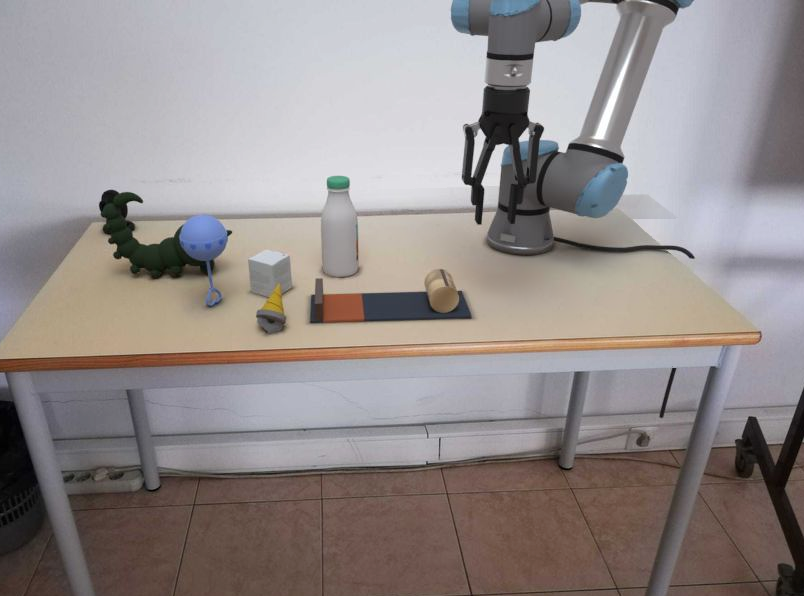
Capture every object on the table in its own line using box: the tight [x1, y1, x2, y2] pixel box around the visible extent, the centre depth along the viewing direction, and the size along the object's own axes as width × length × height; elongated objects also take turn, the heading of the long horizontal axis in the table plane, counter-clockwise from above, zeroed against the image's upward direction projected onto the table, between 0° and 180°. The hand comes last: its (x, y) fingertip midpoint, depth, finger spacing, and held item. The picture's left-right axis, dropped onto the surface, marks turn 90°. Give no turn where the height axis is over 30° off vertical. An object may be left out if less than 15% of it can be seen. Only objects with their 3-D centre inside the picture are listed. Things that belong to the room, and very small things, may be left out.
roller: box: [423, 268, 459, 313], centre depth 130 cm, size 6×8×6 cm
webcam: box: [98, 189, 136, 236], centre depth 165 cm, size 8×8×10 cm
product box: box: [247, 249, 293, 298], centre depth 136 cm, size 6×6×7 cm
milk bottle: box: [320, 175, 360, 278], centre depth 141 cm, size 8×8×20 cm
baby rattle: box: [179, 214, 229, 308], centre depth 127 cm, size 9×9×18 cm
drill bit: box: [255, 283, 287, 335], centre depth 123 cm, size 5×5×10 cm
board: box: [309, 277, 473, 324], centre depth 130 cm, size 30×11×4 cm, turn 93°
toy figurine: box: [100, 191, 233, 279], centre depth 141 cm, size 9×19×25 cm
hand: (494, 221), depth 123 cm, fingers open, 5 cm apart
